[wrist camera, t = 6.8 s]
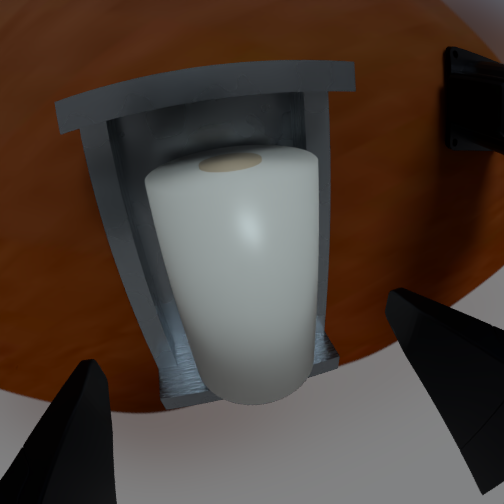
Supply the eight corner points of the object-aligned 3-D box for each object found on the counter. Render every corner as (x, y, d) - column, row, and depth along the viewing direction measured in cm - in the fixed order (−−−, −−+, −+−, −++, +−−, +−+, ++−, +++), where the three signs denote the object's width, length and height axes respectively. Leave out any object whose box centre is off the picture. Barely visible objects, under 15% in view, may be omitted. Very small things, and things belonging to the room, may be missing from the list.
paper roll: (130, 168, 11) (174, 209, 6) (257, 137, 13) (355, 159, 9) (181, 346, 15) (232, 427, 11) (271, 305, 18) (338, 365, 13)
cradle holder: (300, 67, 12) (353, 62, 8) (307, 315, 19) (337, 368, 15) (91, 98, 11) (54, 102, 7) (162, 347, 18) (166, 409, 14)
